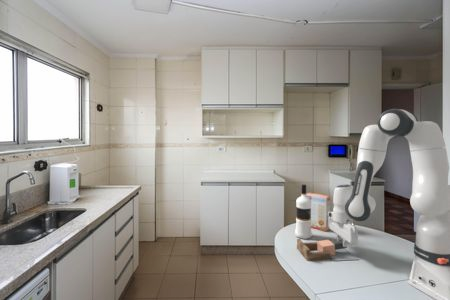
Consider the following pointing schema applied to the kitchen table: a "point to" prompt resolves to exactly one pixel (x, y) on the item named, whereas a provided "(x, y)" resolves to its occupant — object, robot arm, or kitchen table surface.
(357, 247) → the kitchen table surface
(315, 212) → the cracker box
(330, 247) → the terracotta block
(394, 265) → the kitchen table surface
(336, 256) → the grey pad
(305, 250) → the brown wooden tray
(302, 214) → the vodka
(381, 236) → the kitchen table surface
